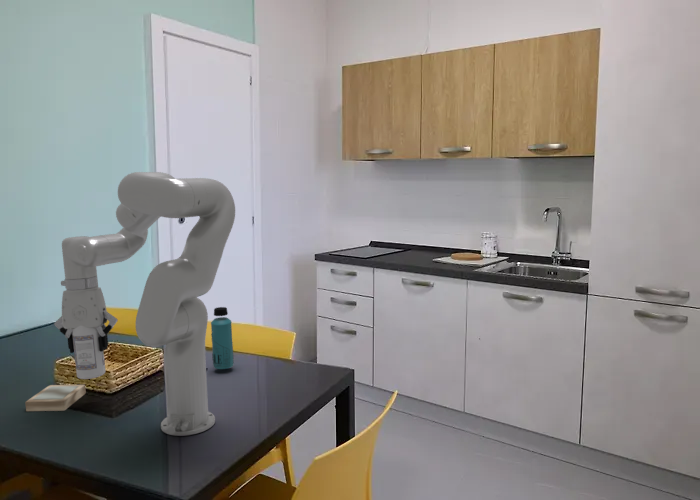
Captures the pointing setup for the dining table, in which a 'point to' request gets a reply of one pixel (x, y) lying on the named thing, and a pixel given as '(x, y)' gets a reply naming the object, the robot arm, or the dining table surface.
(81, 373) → the bath foam
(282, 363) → the dining table surface
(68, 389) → the plinth
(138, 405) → the dining table surface
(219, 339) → the beverage bottle
